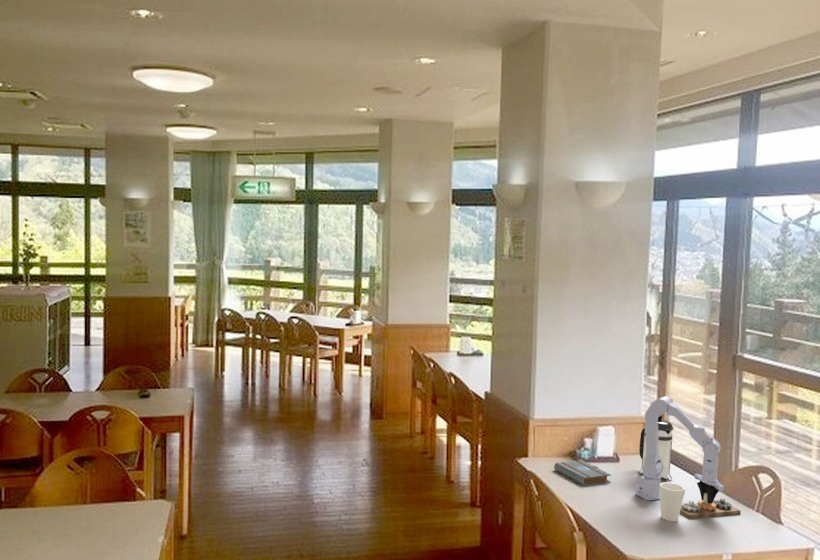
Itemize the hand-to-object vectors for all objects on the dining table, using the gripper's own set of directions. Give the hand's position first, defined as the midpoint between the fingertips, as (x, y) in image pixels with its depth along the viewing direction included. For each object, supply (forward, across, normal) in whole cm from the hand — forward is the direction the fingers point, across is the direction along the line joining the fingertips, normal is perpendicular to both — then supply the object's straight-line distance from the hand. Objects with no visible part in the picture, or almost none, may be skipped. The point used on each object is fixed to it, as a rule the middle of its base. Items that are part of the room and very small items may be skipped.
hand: (707, 501), depth 286 cm
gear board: (+4, 0, 0) cm, 4 cm away
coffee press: (+4, +42, -6) cm, 43 cm away
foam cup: (+4, -3, +21) cm, 22 cm away
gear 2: (+3, 0, -8) cm, 8 cm away
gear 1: (+3, 0, +8) cm, 8 cm away
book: (+5, +47, +30) cm, 56 cm away
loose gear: (+2, 0, 0) cm, 2 cm away
